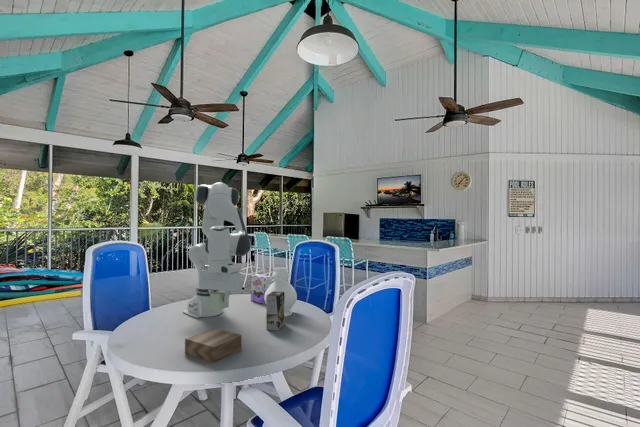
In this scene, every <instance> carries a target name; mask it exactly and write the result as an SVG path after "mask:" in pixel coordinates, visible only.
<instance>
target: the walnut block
mask: <svg viewBox="0 0 640 427" xmlns="http://www.w3.org/2000/svg"><path fill="white" fill-rule="evenodd" d="M240 350H242V334H240V333H235V332H231V331H227V330H223V329H219V328H215V327H213V328H210V329H209V328H208V329H206V330H205V331H202V332H199V333H196V334H193V335H192V336H188V337H186V338H185V339H184V354H185V355H188V356H192V357H194V358H198V359H200V360H203V361H206V362H210V363H213V364H215V363H216V362H219V361H221V360H222V359H225V358H227V357H228V356H229V357H230V355H232V354H234V353H237V352H238V351H240Z"/></svg>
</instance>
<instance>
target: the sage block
mask: <svg viewBox="0 0 640 427" xmlns="http://www.w3.org/2000/svg"><path fill="white" fill-rule="evenodd" d="M224 297H225V294H224V291H217V292H213V293H210V309H216V310H221V309H223V310H224V309H226V308H229V306H230V304H229V303H230V302H229V300H230V296H229V297H228V302H223V298H224Z"/></svg>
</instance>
